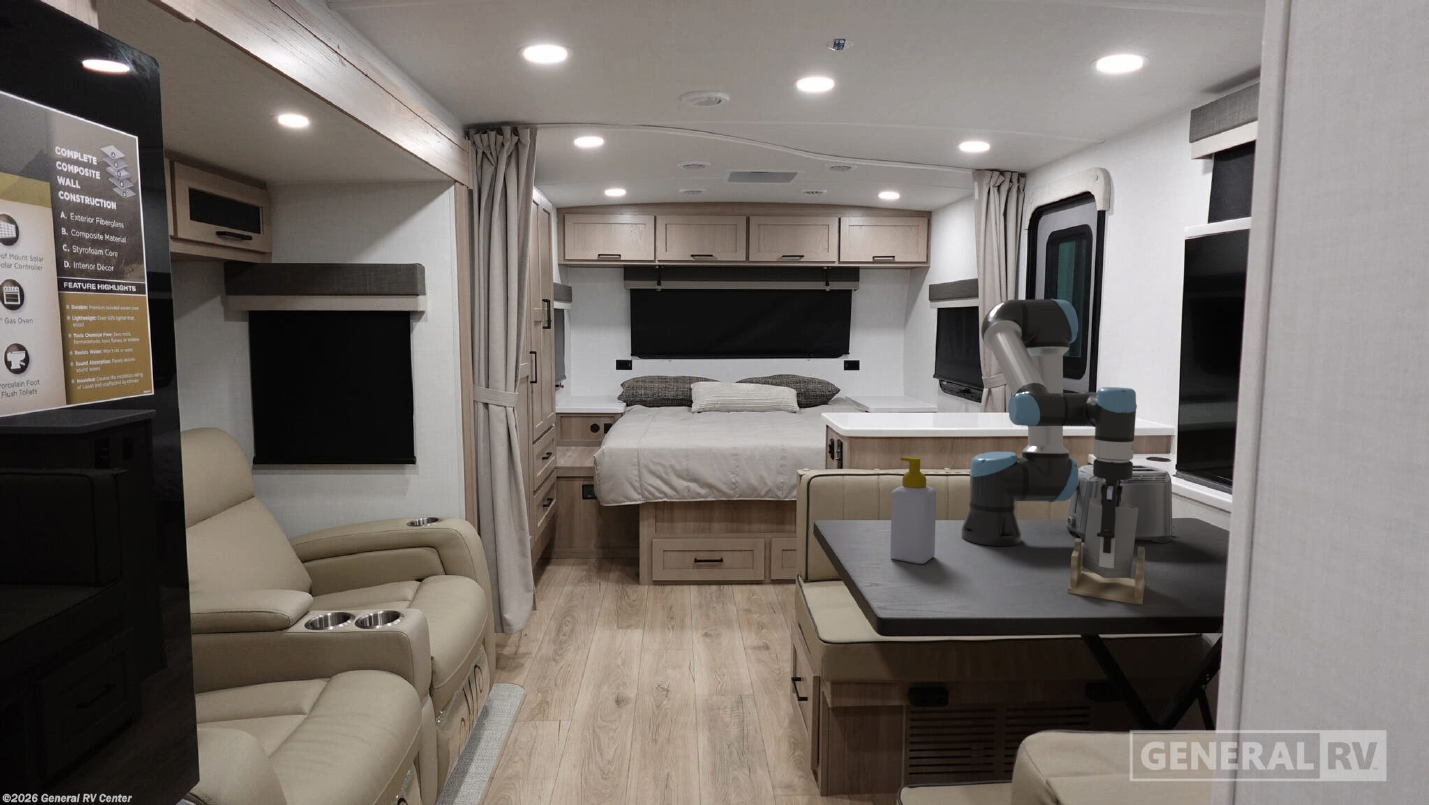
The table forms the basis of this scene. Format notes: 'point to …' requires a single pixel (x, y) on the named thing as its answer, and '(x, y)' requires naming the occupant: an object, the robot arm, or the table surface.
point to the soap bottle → (913, 517)
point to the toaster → (1128, 501)
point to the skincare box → (1123, 540)
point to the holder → (1106, 580)
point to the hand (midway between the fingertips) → (1108, 560)
